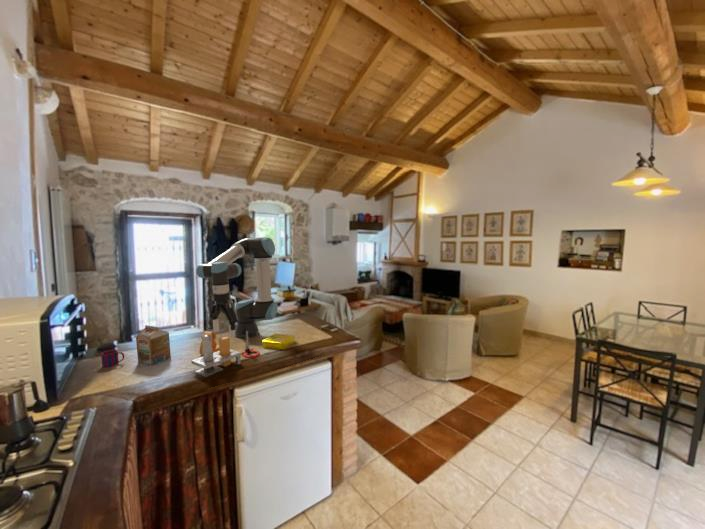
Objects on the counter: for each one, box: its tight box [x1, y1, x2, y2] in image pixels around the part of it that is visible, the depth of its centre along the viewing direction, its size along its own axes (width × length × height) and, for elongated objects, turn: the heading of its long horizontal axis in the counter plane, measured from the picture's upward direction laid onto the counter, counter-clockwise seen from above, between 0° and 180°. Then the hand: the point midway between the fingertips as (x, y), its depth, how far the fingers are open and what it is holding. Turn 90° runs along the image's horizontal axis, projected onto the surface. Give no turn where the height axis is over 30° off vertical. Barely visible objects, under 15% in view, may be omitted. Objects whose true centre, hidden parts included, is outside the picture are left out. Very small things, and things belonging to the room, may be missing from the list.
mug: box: [100, 349, 125, 369], centre depth 157 cm, size 7×10×7 cm
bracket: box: [199, 330, 220, 355], centre depth 172 cm, size 11×7×12 cm, turn 164°
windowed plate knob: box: [191, 334, 242, 378], centre depth 150 cm, size 19×12×18 cm, turn 146°
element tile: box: [261, 333, 296, 350], centre depth 183 cm, size 15×15×5 cm
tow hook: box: [241, 331, 260, 359], centre depth 167 cm, size 8×13×9 cm
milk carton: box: [135, 324, 172, 367], centre depth 161 cm, size 11×11×19 cm
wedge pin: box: [218, 336, 232, 368], centre depth 154 cm, size 4×4×14 cm
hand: (224, 333), depth 154 cm, fingers open, 13 cm apart
